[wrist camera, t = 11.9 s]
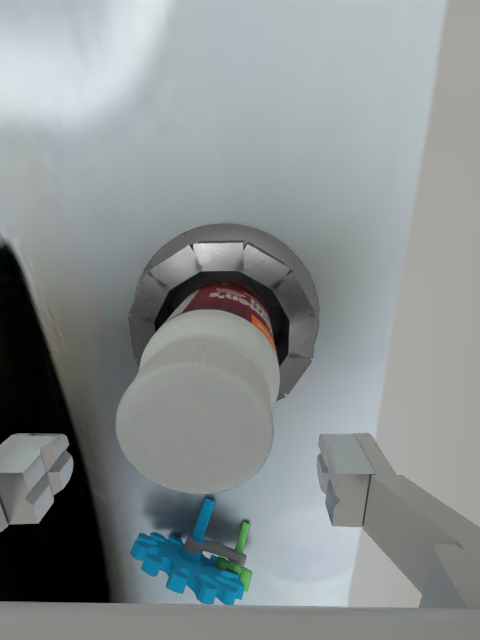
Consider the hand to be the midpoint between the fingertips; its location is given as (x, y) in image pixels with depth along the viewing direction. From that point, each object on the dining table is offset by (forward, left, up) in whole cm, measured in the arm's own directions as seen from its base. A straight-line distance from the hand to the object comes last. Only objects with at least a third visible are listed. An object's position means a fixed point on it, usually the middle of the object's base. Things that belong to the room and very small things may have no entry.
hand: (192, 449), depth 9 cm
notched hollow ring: (+1, 0, -12) cm, 12 cm away
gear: (-21, +3, -13) cm, 24 cm away
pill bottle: (+1, 0, -12) cm, 12 cm away
